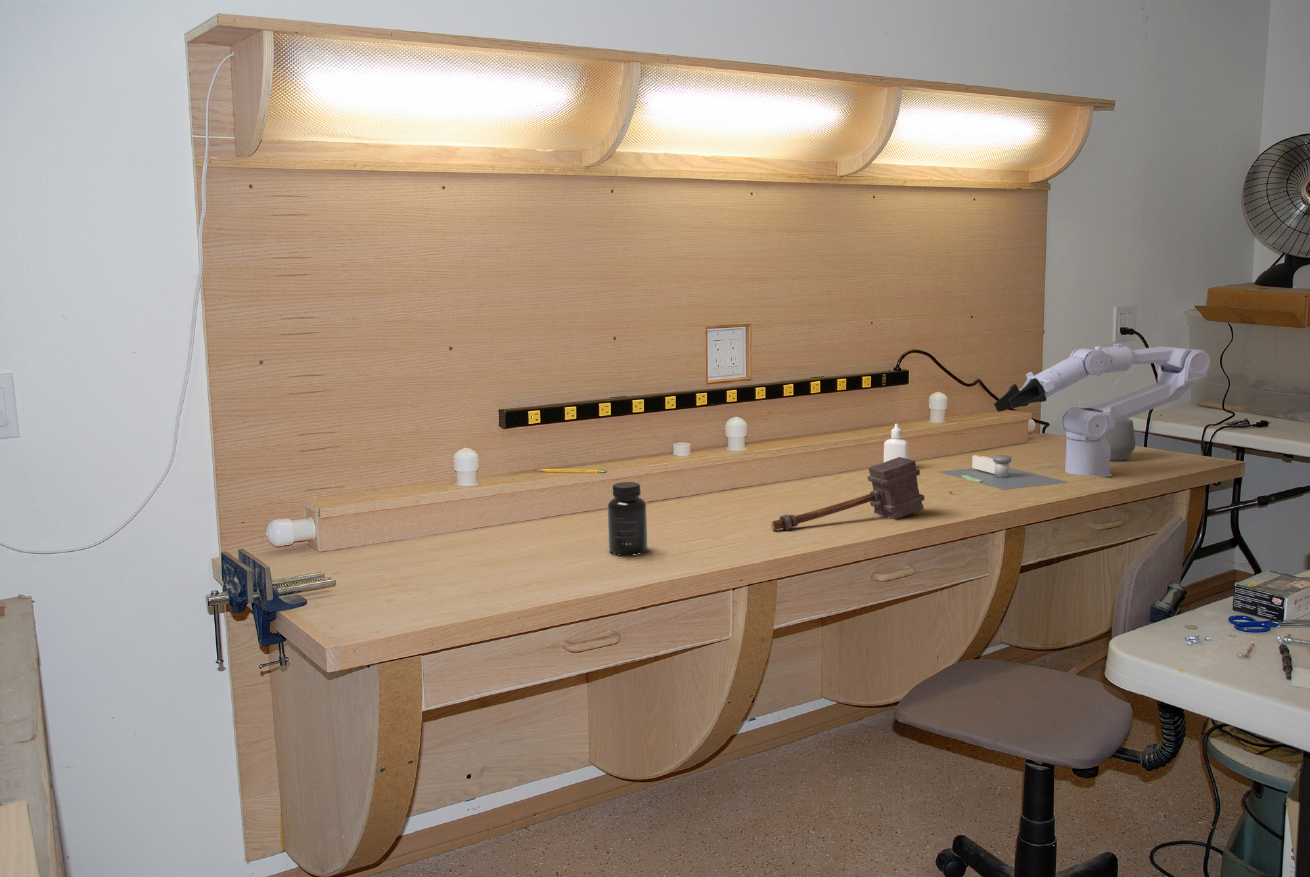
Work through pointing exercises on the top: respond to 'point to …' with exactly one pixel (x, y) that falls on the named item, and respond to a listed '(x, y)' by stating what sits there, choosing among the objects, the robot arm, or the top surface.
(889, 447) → the eye dropper bottle
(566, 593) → the top surface
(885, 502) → the hammer
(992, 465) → the peg key
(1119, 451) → the cup
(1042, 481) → the dial board
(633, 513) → the supplement bottle
